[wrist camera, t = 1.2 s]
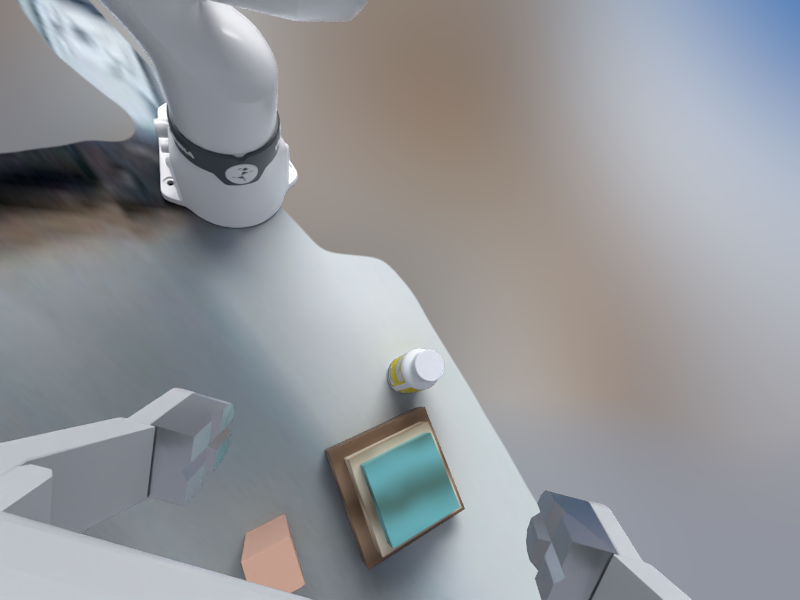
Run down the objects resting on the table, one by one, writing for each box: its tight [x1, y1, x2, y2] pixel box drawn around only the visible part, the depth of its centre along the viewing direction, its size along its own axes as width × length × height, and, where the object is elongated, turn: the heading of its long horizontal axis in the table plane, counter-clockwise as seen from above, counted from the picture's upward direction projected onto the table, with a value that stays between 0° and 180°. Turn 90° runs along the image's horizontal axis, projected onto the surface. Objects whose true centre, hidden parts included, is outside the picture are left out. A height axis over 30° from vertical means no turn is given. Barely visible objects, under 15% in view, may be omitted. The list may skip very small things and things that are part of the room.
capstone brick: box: [241, 514, 305, 593], centre depth 39 cm, size 4×4×10 cm
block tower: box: [325, 407, 465, 569], centre depth 46 cm, size 14×14×8 cm
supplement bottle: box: [387, 349, 444, 394], centre depth 51 cm, size 5×5×10 cm
